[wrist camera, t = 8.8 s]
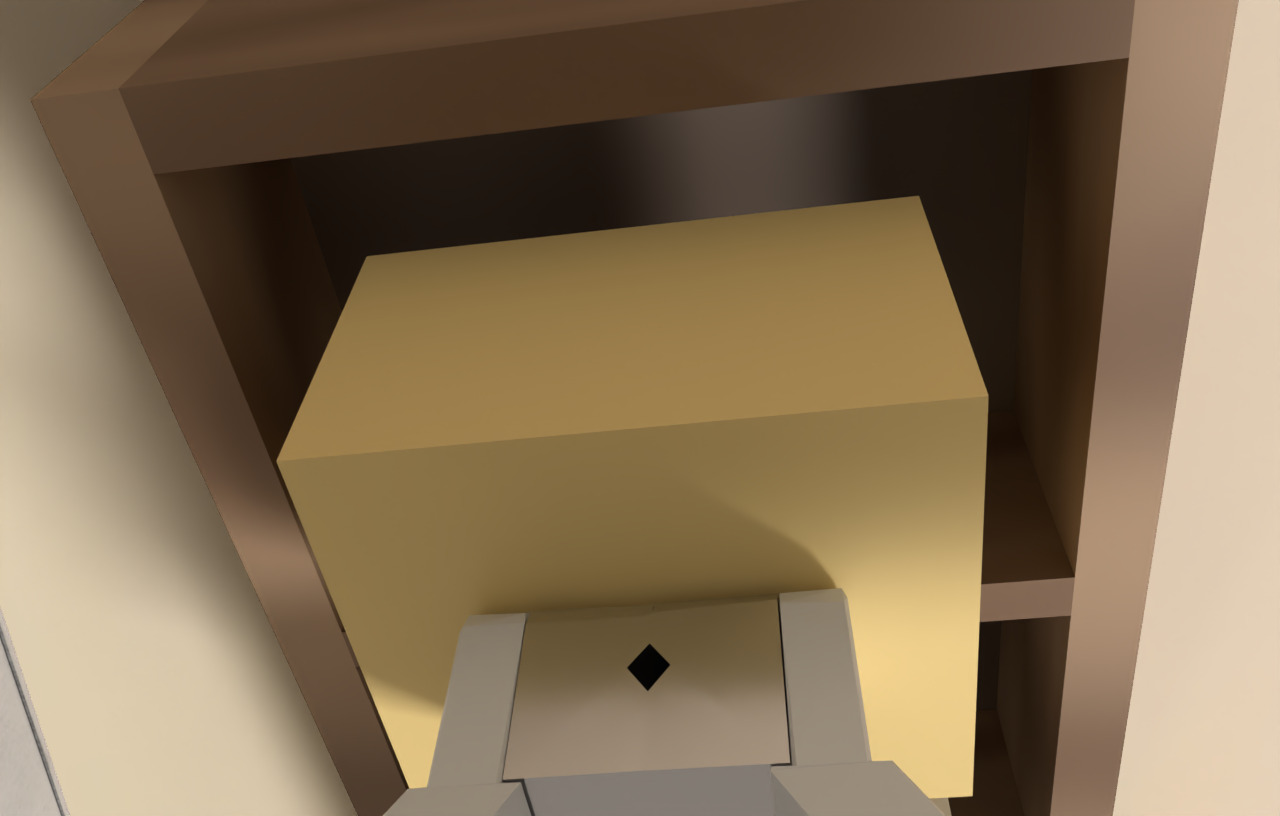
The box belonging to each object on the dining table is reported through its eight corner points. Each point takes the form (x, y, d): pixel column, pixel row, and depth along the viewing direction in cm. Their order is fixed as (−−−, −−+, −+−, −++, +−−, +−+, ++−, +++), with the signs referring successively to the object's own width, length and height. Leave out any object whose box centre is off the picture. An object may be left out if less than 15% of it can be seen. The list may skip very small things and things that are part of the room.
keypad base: (168, -21, 13) (29, 99, 10) (1119, -152, 12) (1247, -57, 9) (525, 957, 25) (504, 1136, 22) (1021, 936, 24) (1065, 1121, 21)
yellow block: (388, 206, 12) (277, 461, 9) (902, 147, 11) (989, 396, 8) (483, 536, 14) (425, 827, 11) (905, 500, 14) (972, 795, 11)
